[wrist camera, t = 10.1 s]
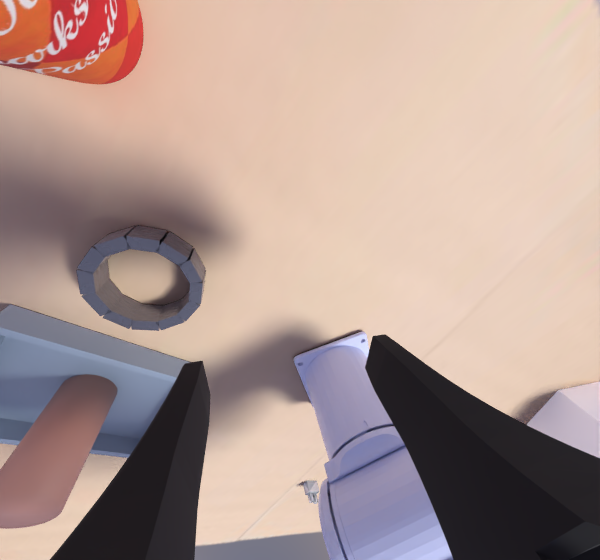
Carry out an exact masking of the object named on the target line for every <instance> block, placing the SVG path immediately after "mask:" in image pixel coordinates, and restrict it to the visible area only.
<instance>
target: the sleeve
mask: <svg viewBox="0 0 600 560" xmlns="http://www.w3.org/2000/svg"><path fill="white" fill-rule="evenodd" d="M192 247H193V246H191V245H190V244H188V243H187V242H185V241H184V240H182V239H181V238H179V237H178V236H176V235H175V234H173V233H172V232H169V233H168V234H167V230H163V229H157V228H151V227H145V226H139V225H138V226H137V227H136V226H132V227H129V228H126V229H123V230H120V231H117V232H113V233H110V234H108V235H107V236H105V237H104V238H103V239H102V240H100V241H99V242H98V243H96V244H95V245H94V246H92V247H91V249H90V250H89V251H88V253H87V254H86V256H85V257H84V259H83V260H82V261H81V263H80V264H79V266H78V267H77V268H78V269H77V276H78V283H79V289H80V294H83V295H82V297H83V298H84V299H85V301H86V302H87V303H88V304H89V305H90V306H91V307H92V308H93V309H94V310H95V311H96V312H97V313H98V314H99V315H100V316H102V315H104V316H103V318H105V319H107V320H109V321H112V322H114V323H116V324H119V325H121V326H124V327H126V328H128V329H129V328H130V327H131V326H132V329H135V330H157V331H159V329H161V330H163V329H166V328H169V327H172V326H175V325H178V324H181V323H183V322H184V321H187V319H188V318H189V317H190V316H191V315H192V314H193V313H194V312H195V311H196V309H197V308H198V307H199V306H200V304H201V300H202V296H203V291H204V282H205V272H206V270H205V267H204V265H203V263H202V261H201V259H200V258H199V256H198V254H197V252H196V250H195V248H194V249H192ZM128 249H135V250H142V251H149V252H156V253H159V254H160V255H162V256H164V257H165V258H167V259H169V260H170V261H172V262H174V263H175V264H177V265H178V266H179V267H180V268H181V270H182V271H183V273H184V275H185V276H186V278H187V280H188V281H189V283H190V291H189V292H188V293H187V294H186V295H185V296H184V297H183V299H181V300H178V301H175V302H173V303H170V304H167V305H150V304H142V303H140V302H137V301H135V300H133V299H131V298H129V297H127V296H125V295H123V294H122V293H121V292H120V291H119V289H118V288H117V287H116V286H115V284H114V283H113V282H112V281H111V280H110V278H109V269H108V259H109V257H110V256H111V255H112V254H115V253H118V252H122V251H125V250H128Z"/></svg>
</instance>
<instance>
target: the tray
mask: <svg viewBox="0 0 600 560" xmlns="http://www.w3.org/2000/svg"><path fill="white" fill-rule="evenodd" d="M185 363H191V362H188V361H185V360H182V359H179V358H175V357H172V356H169V355H166V354H163V353H160V352H157V351H154V350H151V349H148V348H145V347H141V346H138V345H135V344H132V343H129V342H126V341H123V340H120V339H117V338H114V337H111V336H108V335H104V334H101V333H98V332H95V331H92V330H89V329H86V328H83V327H80V326H77V325H74V324H70V323H67V322H64V321H61V320H58V319H55V318H52V317H49V316H46V315H43V314H40V313H37V312H33V311H30V310H27V309H24V308H21V307H18V306H15V305H12V304H10V305H9V306H8V307H6V308H5V309H3V310H2V311H1V312H0V443H4V444H12V445H19V443H20V442H21V440H22V439H23V438H24V436H25V435H26V433H27V432H28V431H29V429H30V428H31V426H32V425H33V424H34V422H35V421H36V419H37V418H38V417H39V415H40V414H41V412H42V411H43V410H44V408H45V407H46V406H47V404H48V403H49V401H50V400H51V399H52V397H53V396H54V394H55V393H56V392H57V390H58V389H59V387H60V386H61V385H62V383H63V382H64V381H65V380H67V379H69V378H71V377H73V376H77V375H85V374H89V375H97V376H101V377H104V378H107V379H109V380H110V381H112V382H113V383H114V384H115V385H116V387H117V395H116V397H115V400H114V402H113V404H112V406H111V408H110V410H109V412H108V414H107V417H106V419H105V421H104V423H103V425H102V427H101V429H100V431H99V434H98V436H97V438H96V440H95V442H94V444H93V446H92V448H91V451H90V453H91V454H100V455H109V456H118V457H127V458H129V456H130V455H131V453H132V452H133V450H134V449H135V447H136V446H137V444H138V442H139V441H140V439H141V438H142V436H143V435H144V433H145V432H146V430H147V429H148V427H149V426H150V424H151V422H152V421H153V419H154V417H155V416H156V414H157V412H158V411H159V409H160V407H161V406H162V404H163V402H164V401H165V399H166V397H167V395H168V394H169V392H170V390H171V388H172V386H173V384H174V383H175V381H176V379H177V377H178V375H179V373H180V371H181V369H182V367H183V365H184V364H185Z"/></svg>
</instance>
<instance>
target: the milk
mask: <svg viewBox="0 0 600 560" xmlns="http://www.w3.org/2000/svg"><path fill="white" fill-rule="evenodd" d="M526 425H527V426H529V427H531V428H534V429H536V430H538V431H540V432H542V433H544V434H546V435H548V436H550V437H552V438H555V439H557V440H559V441H561V442H563V443H566V444H568V445H570V446H572V447H574V448H577V449H579V450H581V451H584V452H586V453H588V454H591V455H593V456H596V457H598V458H600V381H599V382H595V383H590V384H585V385H580V386H575V387H571V388H566V389H561V390H558V391H557V392H556V393H555V394H554V395H553V396H552V397H551V398H550V400H549V401H548V402H547V403H546V404H545V405H544V406H543V407H542V408H541V409H540V410H539V411H538V413H537V414H536V415H535V416H534V417H533V418H532V419H531V420H530V421H529V422H528V423H527V424H526Z"/></svg>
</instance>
